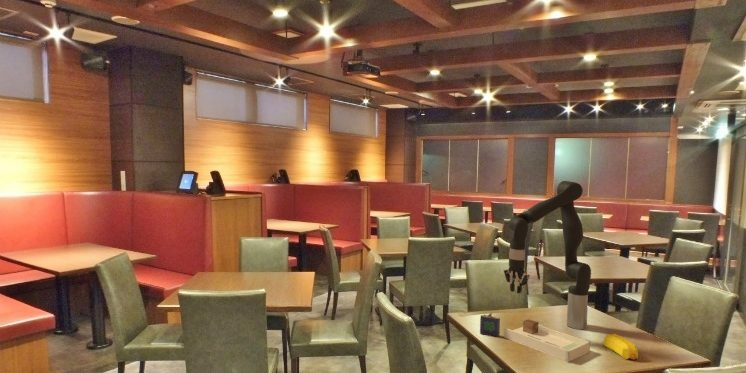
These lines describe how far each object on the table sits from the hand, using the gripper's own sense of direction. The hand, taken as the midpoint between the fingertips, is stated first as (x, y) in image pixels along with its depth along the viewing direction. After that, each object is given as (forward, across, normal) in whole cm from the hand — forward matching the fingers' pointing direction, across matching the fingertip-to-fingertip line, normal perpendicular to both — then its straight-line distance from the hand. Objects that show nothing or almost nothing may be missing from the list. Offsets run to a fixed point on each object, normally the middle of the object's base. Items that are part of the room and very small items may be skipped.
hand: (515, 292), depth 219 cm
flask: (+19, +3, +16) cm, 25 cm away
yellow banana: (+20, -43, -16) cm, 50 cm away
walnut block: (+17, -9, 0) cm, 19 cm away
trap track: (+19, -19, +4) cm, 27 cm away
